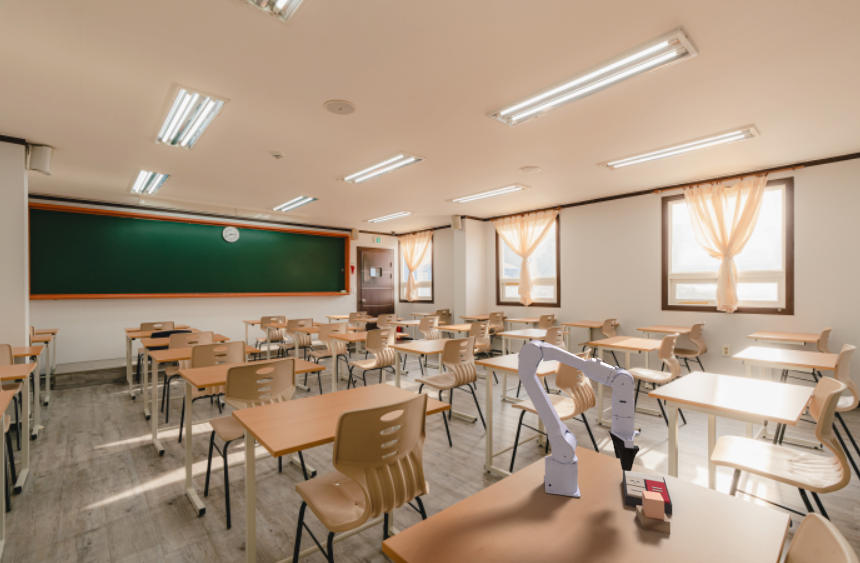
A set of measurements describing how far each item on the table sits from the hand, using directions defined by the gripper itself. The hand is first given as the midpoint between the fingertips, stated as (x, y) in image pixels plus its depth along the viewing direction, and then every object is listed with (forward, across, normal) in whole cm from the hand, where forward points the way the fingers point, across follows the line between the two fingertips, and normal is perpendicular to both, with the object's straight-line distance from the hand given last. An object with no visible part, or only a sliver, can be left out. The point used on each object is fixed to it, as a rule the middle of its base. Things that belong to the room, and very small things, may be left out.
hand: (623, 464), depth 107 cm
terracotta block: (+8, -9, -5) cm, 13 cm away
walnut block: (+11, -9, -5) cm, 15 cm away
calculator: (+11, +5, -7) cm, 14 cm away
